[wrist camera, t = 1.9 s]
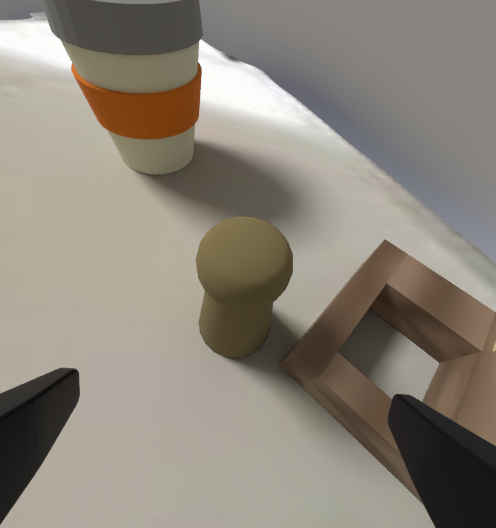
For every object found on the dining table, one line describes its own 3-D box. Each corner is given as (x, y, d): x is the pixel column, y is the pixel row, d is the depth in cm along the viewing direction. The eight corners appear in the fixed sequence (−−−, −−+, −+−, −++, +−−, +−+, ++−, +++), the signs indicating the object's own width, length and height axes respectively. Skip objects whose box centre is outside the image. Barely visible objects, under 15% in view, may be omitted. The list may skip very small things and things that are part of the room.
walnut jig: (580, 417, 20) (666, 416, 16) (558, 635, 14) (692, 718, 10) (363, 262, 26) (388, 235, 22) (279, 364, 20) (294, 350, 16)
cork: (266, 288, 23) (297, 200, 14) (273, 356, 20) (321, 299, 11) (200, 289, 23) (188, 197, 13) (197, 359, 19) (178, 301, 10)
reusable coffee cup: (100, 131, 34) (29, -45, 21) (191, 120, 37) (178, -35, 25) (113, 193, 28) (27, 3, 15) (220, 173, 31) (222, 7, 19)
